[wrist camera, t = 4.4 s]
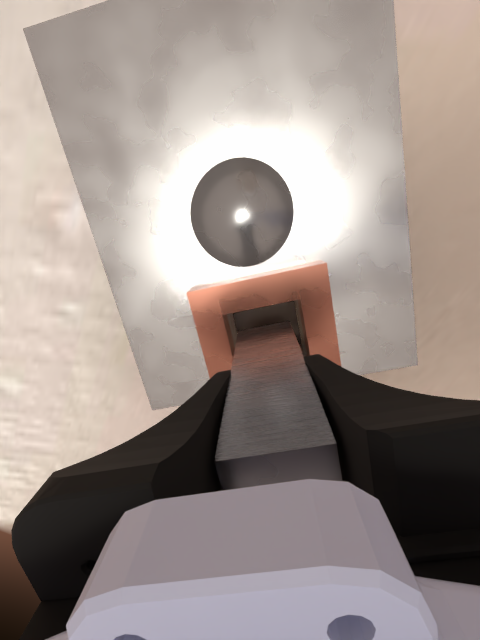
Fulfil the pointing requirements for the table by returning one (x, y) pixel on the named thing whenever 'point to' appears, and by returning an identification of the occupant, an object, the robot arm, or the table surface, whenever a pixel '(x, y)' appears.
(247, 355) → the grey rectangular block
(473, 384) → the table surface
